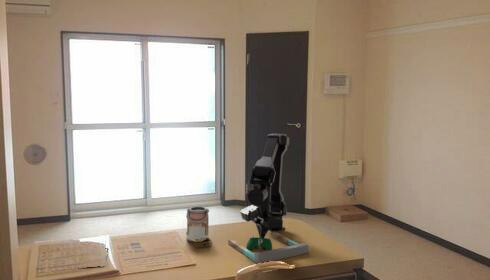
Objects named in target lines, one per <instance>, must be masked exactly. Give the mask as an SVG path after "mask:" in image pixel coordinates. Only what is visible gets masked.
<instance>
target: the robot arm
mask: <svg viewBox="0 0 490 280" xmlns="http://www.w3.org/2000/svg"><path fill="white" fill-rule="evenodd" d="M289 145H290V137H289V136H287V134H286V133H270V134H267V136H266V144H265V147H264V149H263V153H262V156H261V158H259V159H258V160H257V161H256V162H255V164H254V166H253V168H252V170H251V171H252V172H251V175H250V182H249V184H250V185H253V186H252V187H253V188H251V190H250V191H248V194H247V199H248V202H249V203H250V204H251V205H248V206H246V207H244V208H243V209H241V210H240V211H239V212H240V216H241V218H242V220H244V221H245V222H253V223H254V224H255V226H256V229H257V233H258V238H266V236H267V234H268V231H271V232H274V231H275V232H277V231H280V230H285V229H286V227H284V220H283V217H284V216H287V214H288V213H287V212H288V211H287V205H286V202H285V197H284V194H283V193H282V190H281V189H282V188H281V186H282V174H283V173H282V172H283V159H284V158H283V157H284V155H285V153H286V152H287V151H288V147H289Z"/></svg>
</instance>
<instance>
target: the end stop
mask: <svg viewBox="0 0 490 280" xmlns="http://www.w3.org/2000/svg"><path fill="white" fill-rule="evenodd" d="M254 254H255V261H254V262H255V263H256V264H257V263H260V262H264V263H267V262H266V261H269V262H272V261H277V260H283V259H285V258H291V257H295V256H299V255H304V254H309V244H308V243H306V242H303V243H298V244H297V245H292V246H290V245H289V246H288V245H287V246H283V247H278V248H274V249H273V248H272V250H268V251H267V250H263V251H259V252H255V253H254ZM260 264H261V263H260Z"/></svg>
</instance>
